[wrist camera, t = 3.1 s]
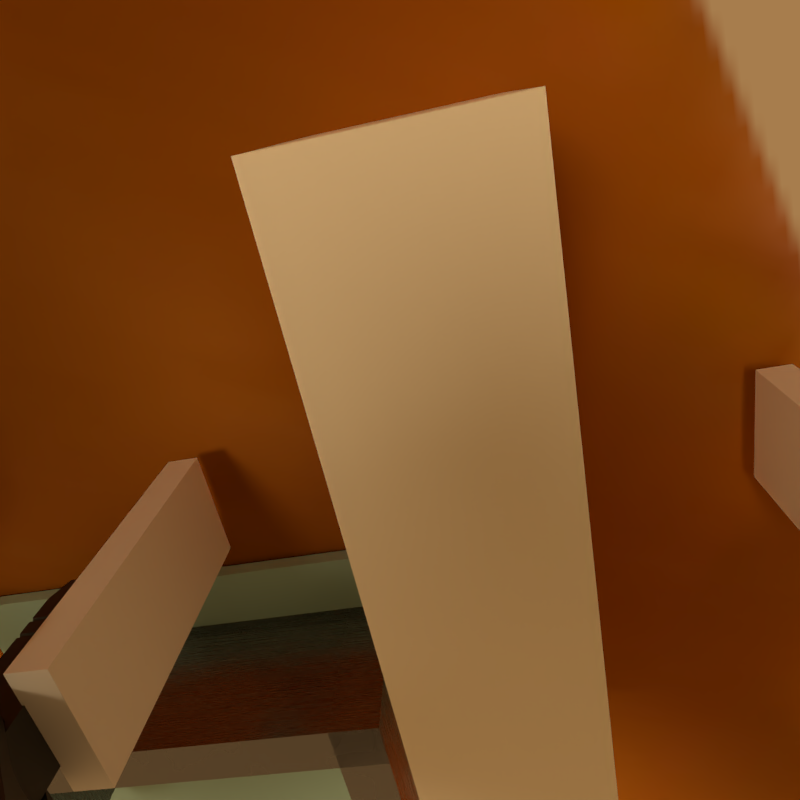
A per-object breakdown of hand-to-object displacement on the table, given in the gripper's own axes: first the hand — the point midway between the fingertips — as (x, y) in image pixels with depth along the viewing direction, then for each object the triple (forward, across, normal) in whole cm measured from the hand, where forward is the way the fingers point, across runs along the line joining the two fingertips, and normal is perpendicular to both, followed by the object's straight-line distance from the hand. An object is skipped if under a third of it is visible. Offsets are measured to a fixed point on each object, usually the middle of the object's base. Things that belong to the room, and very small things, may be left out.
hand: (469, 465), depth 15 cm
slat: (+1, 0, 0) cm, 1 cm away
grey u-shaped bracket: (+1, -9, -7) cm, 11 cm away
